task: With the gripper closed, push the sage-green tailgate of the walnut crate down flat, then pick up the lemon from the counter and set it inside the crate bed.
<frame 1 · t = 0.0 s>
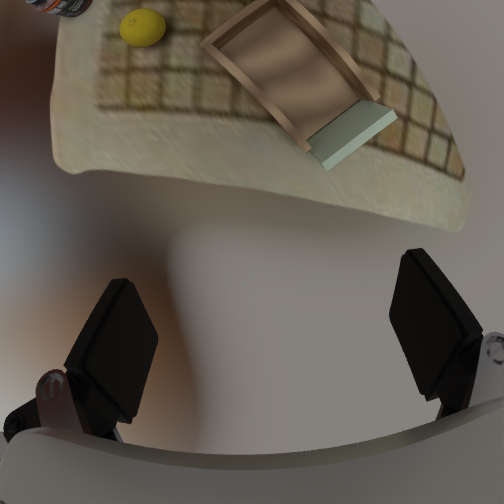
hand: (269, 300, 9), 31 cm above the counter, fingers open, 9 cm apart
tailgate: (348, 131, 30), point 5 cm above the counter, hinge at 8.0°
lemon: (154, 33, 27), on the counter
crate: (288, 69, 30), on the counter
supplement bottle: (79, 2, 22), on the counter
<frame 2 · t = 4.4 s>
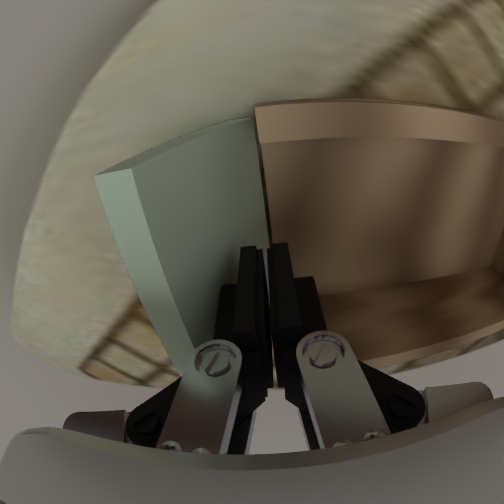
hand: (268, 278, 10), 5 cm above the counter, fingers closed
tailgate: (223, 272, 11), point 5 cm above the counter, hinge at 16.3°, touching gripper
crate: (421, 205, 14), on the counter
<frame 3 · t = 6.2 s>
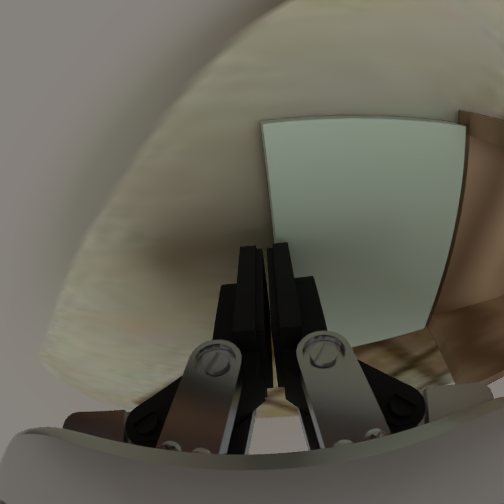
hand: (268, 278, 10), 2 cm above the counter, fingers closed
tailgate: (370, 249, 11), point 1 cm above the counter, hinge at 86.7°
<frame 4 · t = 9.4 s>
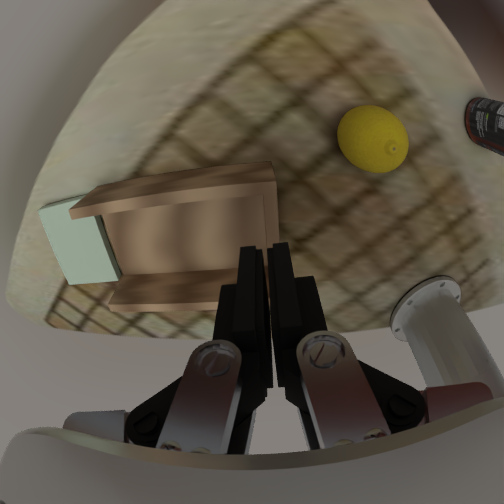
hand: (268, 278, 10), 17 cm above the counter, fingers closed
tailgate: (78, 242, 28), point 1 cm above the counter, hinge at 86.7°
lemon: (354, 130, 23), on the counter
crate: (186, 227, 28), on the counter
supplement bottle: (478, 120, 21), on the counter
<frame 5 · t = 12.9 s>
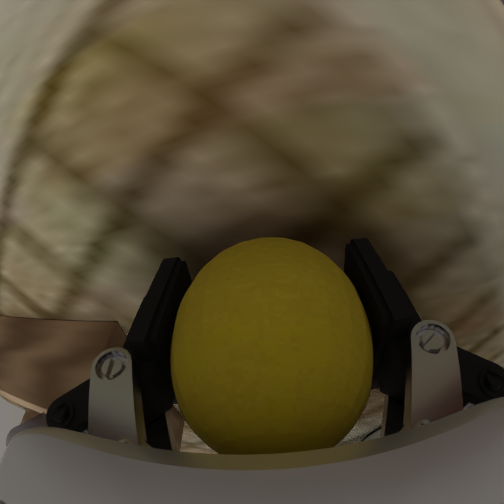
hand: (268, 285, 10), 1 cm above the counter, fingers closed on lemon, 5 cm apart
lemon: (267, 261, 11), on the counter, touching gripper
crate: (63, 371, 17), on the counter
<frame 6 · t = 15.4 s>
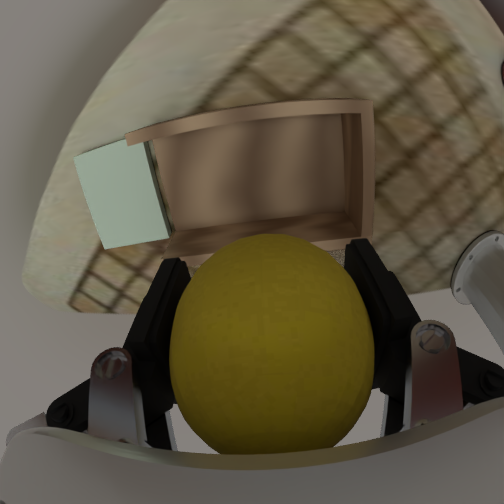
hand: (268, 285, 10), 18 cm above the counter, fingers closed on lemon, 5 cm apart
tailgate: (121, 194, 26), point 1 cm above the counter, hinge at 86.7°
lemon: (267, 259, 11), point 16 cm above the counter, touching gripper
crate: (257, 167, 25), on the counter
when the fingers open (4 cm above the counter, at t = 17.9 s): lemon drops 2 cm, resting on crate.
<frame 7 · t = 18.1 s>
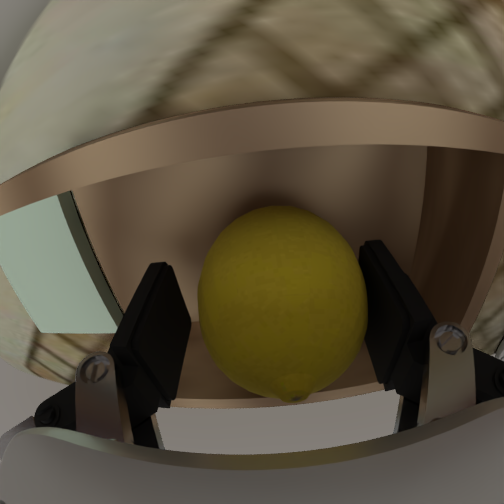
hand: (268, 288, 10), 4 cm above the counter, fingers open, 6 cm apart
tailgate: (44, 264, 14), point 1 cm above the counter, hinge at 86.7°
lemon: (272, 234, 13), point 1 cm above the counter, touching crate, gripper
crate: (263, 229, 13), on the counter
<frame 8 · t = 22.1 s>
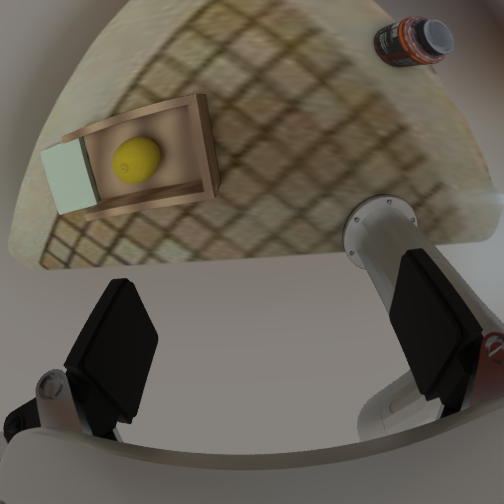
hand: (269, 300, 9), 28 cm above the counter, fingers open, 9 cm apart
tailgate: (69, 176, 34), point 1 cm above the counter, hinge at 86.7°
lemon: (149, 152, 33), point 1 cm above the counter, touching crate
crate: (148, 152, 34), on the counter
supplement bottle: (392, 47, 25), on the counter
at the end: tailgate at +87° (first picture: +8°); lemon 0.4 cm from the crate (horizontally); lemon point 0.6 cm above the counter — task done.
